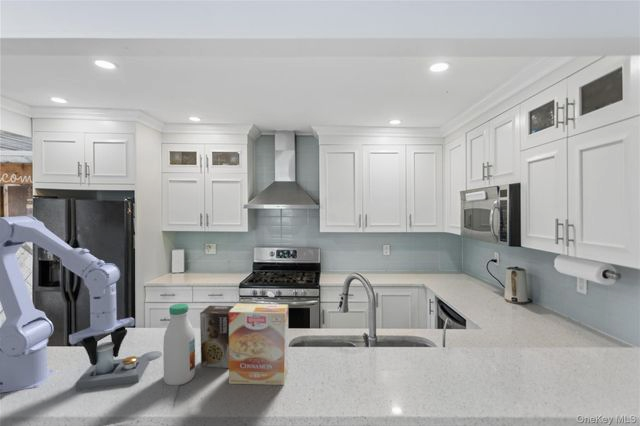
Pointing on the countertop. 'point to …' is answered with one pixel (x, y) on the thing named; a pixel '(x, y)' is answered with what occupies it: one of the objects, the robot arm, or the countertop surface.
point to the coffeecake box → (258, 344)
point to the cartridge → (104, 357)
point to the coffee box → (215, 336)
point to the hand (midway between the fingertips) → (104, 359)
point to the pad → (153, 355)
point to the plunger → (129, 363)
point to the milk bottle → (179, 347)
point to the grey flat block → (112, 375)
